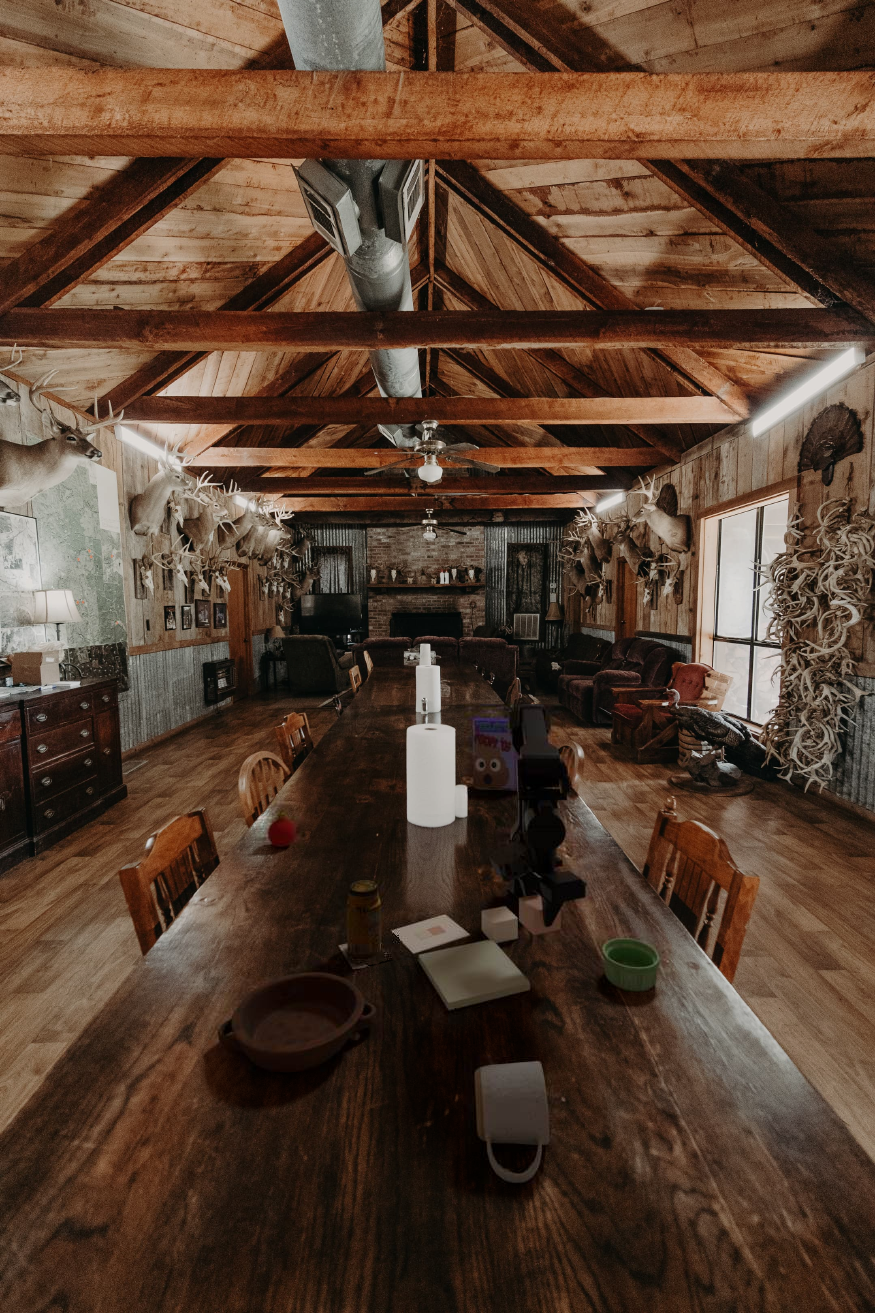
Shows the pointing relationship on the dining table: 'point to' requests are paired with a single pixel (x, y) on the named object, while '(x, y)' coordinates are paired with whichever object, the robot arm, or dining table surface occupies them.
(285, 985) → the dish
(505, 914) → the cream brick
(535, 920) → the terracotta brick
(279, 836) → the christmas ornament
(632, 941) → the ramekin
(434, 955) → the baseplate
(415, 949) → the page
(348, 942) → the condiment
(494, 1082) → the ceramic mug
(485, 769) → the cereal box
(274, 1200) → the dining table surface
